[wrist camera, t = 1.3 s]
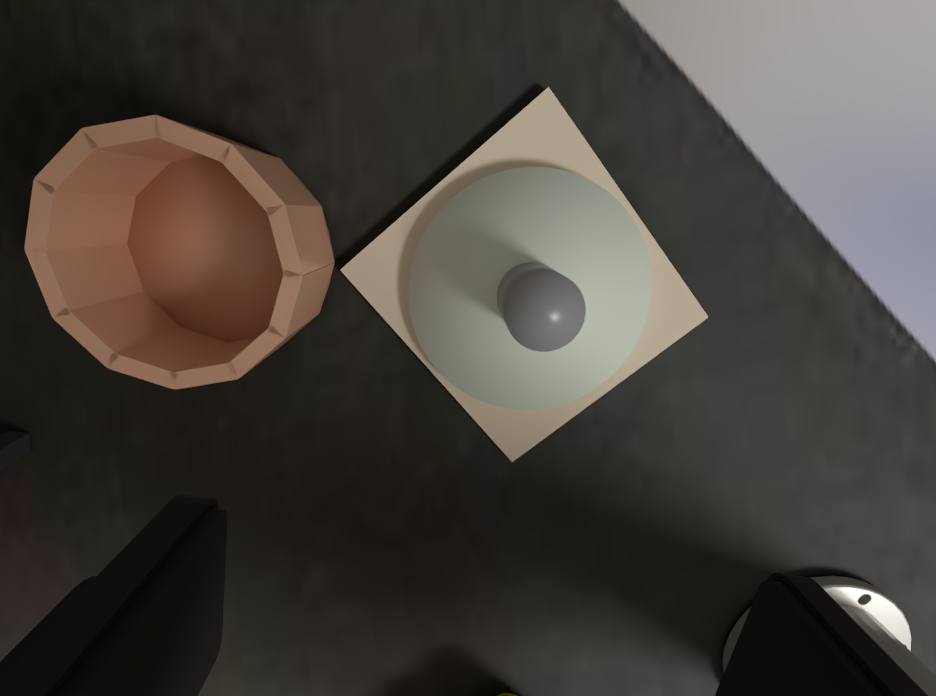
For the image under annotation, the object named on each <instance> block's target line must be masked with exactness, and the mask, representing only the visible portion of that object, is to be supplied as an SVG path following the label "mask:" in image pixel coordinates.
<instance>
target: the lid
mask: <svg viewBox="0 0 936 696" xmlns="http://www.w3.org/2000/svg"><path fill="white" fill-rule="evenodd" d="M651 294H652V273H651V265H650V259H649V255H648V251H647V248H646V244H645V242H644V240H643V237H642V235H641V232H640V230H639V228H638V227H637V225H636V223H635V222H634V220H633V218H632V217H631V215H630V214H629V213H628V212H627V210H626V209H625V208H624V207H623V205H622V204H621V203H620V202H619V201H618V200H617V199H616V198H615V197H613V196H612V195H611V194H610V193H609V192H608V191H606V190H605V189H603V188H602V187H601V186H599V185H598V184H596V183H595V182H593V181H591V180H589V179H587V178H585V177H583V176H581V175H578V174H575V173H572V172H569V171H565V170H561V169H555V168H550V167H522V168H513V169H509V170H505V171H501V172H497V173H494V174H492V175H489V176H487V177H484V178H482V179H480V180H478V181H476V182H474V183H473V184H471V185H469V186H467V187H466V188H464V189H463V190H462V191H460V192H459V193H458V194H456V195H455V196H454V197H452V198H451V199H450V200H449V201H448V202H447V203H446V204H445V205H444V206H443V207H442V208H441V209H440V210H439V212H438V213H437V214H436V216H435V217H434V218H433V219H432V221H431V222H430V223H429V225H428V227H427V229H426V230H425V232H424V234H423V235H422V237H421V239H420V242H419V244H418V247H417V249H416V251H415V254H414V258H413V262H412V265H411V269H410V277H409V284H408V302H409V309H410V317H411V320H412V324H413V328H414V331H415V334H416V336H417V339H418V341H419V343H420V346H421V347H422V349H423V351H424V353H425V354H426V356H427V358H428V359H429V361H430V362H431V363H432V364H433V366H434V367H435V368H436V369H437V371H438V372H439V373H440V374H441V375H442V376H443V377H444V378H445V379H446V380H447V381H448V382H450V383H451V384H452V385H454V386H455V387H456V388H458V389H459V390H460V391H462V392H464V393H466V394H467V395H469V396H471V397H473V398H475V399H477V400H480V401H482V402H485V403H487V404H491V405H495V406H498V407H503V408H510V409H526V410H531V409H541V408H548V407H552V406H557V405H561V404H563V403H566V402H569V401H572V400H575V399H577V398H579V397H581V396H583V395H585V394H587V393H588V392H590V391H591V390H593V389H595V388H596V387H598V386H599V385H601V384H602V383H603V382H604V381H605V380H607V379H608V378H609V377H610V376H611V375H612V374H613V373H614V372H615V371H616V370H617V369H618V368H619V367H620V366H621V365H622V364H623V363H624V361H625V360H626V358H627V357H628V356H629V354H630V353H631V352H632V350H633V348H634V346H635V345H636V343H637V341H638V339H639V338H640V335H641V333H642V330H643V328H644V325H645V323H646V319H647V316H648V312H649V308H650V301H651Z"/></svg>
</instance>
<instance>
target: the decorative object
mask: <svg viewBox="0 0 936 696" xmlns="http://www.w3.org/2000/svg"><path fill="white" fill-rule="evenodd" d="M498 696H518V695H515V694H512V693H503V694H500V695H498Z"/></svg>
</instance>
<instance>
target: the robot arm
mask: <svg viewBox="0 0 936 696" xmlns="http://www.w3.org/2000/svg"><path fill="white" fill-rule="evenodd" d="M226 538H227V512H226V511H225V510H220V509H218V504H217V501H216V500H214V499H209V498H201V497H194V496H186V495H177V496H175V497H174V498H173V499H172V500H171V501H170V502H169V503H168V504H167V505H166V506H165V507H164V508H163V509H162V510H161V511H160V512H159V513H158V514H157V515H156V516H155V517H154V518H153V519H152V520H151V521H150V522H149V523H148V524H147V525H146V526H145V527H144V529H143V530H142V531H141V532H140V533H139V534H138V535H137V536H136V537H135V538H134V539H133V540H132V541H131V542H130V543H129V544H128V545H127V546H126V547H125V548H124V549H123V550H122V551H121V552H120V553H119V554H118V555H117V556H116V557H115V558H114V559H113V560H112V561H111V562H110V563H109V564H108V565H107V567H106V568H105V569H104V570H103V571H102V572H101V573H100V574H99V575H98V576H97V577H96V576H93V577H90V578H88V579H85V580H84V581H82V582H81V583H80V584H79V585H78V586H76V587H75V588H74V589H73V590H72V591H71V592H70V593H69V594H68V595H67V596H66V597H65V598H64V599H63V600H62V601H61V602H60V603H59V604H58V605H57V606H56V607H55V608H54V609H53V610H52V611H51V612H50V613H49V614H48V615H47V616H46V617H45V618H44V619H43V620H42V621H41V622H40V623H39V624H38V625H37V626H36V627H35V628H34V629H33V630H32V631H31V632H30V633H29V634H28V635H27V636H26V637H25V638H24V639H23V640H22V641H21V642H20V643H19V644H18V645H17V646H16V647H15V648H14V649H13V650H12V651H11V652H10V653H9V654H8V655H7V656H6V657H5V658H4V659H3V660H2V661H1V662H0V696H198V694H199V692H200V690H201V688H202V686H203V684H204V682H205V680H206V679H207V677H208V675H209V673H210V671H211V669H212V667H213V665H214V663H215V661H216V658H217V655H218V652H219V649H220V645H221V639H222V621H223V601H224V580H225V559H226ZM722 661H723V672H724V674H723V677H722V679H721V682H720V684H719V687H718V689H717V692H716V696H936V675H935V674H934V673H932V672H931V671H930V670H929V669H928V668H927V667H926V666H925V665H924V664H923V663H922V662H921V661H920V660H919V659H918V658H917V657H916V656H915V655H914V654H913V653H912V652H911V633H910V628H909V624H908V622H907V620H906V618H905V616H904V614H903V612H902V611H901V610H900V609H899V607H898V606H897V605H896V604H895V603H894V602H893V601H892V600H891V599H889V598H888V597H887V596H886V595H885V594H883V593H882V592H881V591H880V590H879V589H878V588H876V587H874V586H872V585H870V584H868V583H866V582H864V581H861V580H857V579H853V578H850V577H841V576H822V577H812V578H809V577H805V576H797V575H790V574H782V573H774V574H772V575H771V576H769V577H768V579H767V581H764V582H762V583H761V584H760V586H759V588H758V591H757V593H756V596H755V598H754V601H753V603H752V605H751V607H750V608H749V609H748V610H747V611H746V612H745V613H744V614H743V615H742V616H741V617H740V619H739V620H738V621H737V623H736V624H735V626H734V628H733V629H732V631H731V632H730V634H729V637H728V639H727V642H726V645H725V647H724V654H723V660H722Z"/></svg>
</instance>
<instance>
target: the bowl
mask: <svg viewBox="0 0 936 696" xmlns="http://www.w3.org/2000/svg"><path fill="white" fill-rule="evenodd" d="M24 249H26V250H25V252H26V255H27V257H28V260H29V262H30V265H31V267H32V270H33V272H34V274H35V277H36V279H37V282H38V284H39V287H40V289H41V291H42V294H43V296H44V299H45V301H46V304H47V306H48V309H49V311H50V313H51V316H52V318H53V319H54V320H55V321H56V322H57V323H58V324H59V325H60V326H62V327H63V328H64V329H65V330H66V331H67V332H68V333H69V334H70V335H71V336H73V337H74V338H75V339H76V340H77V341H78V342H79V343H80V344H81V345H82V346H84V347H85V348H86V349H87V350H88V351H89V352H90V353H91V354H92V355H93V356H95V357H96V358H97V359H98V360H99V361H100V362H101V363H102V364H103V365H104V366H106V367H107V368H108V369H111V370H114V371H117V372H121V373H124V374H127V375H130V376H133V377H136V378H139V379H142V380H146V381H149V382H152V383H155V384H158V385H161V386H164V387H168V388H171V389H175V390H176V389H182V388H188V387H194V386H200V385H206V384H212V383H218V382H224V381H230V380H236V379H239V378H241V377H242V376H243V375H244V374H246V373H247V372H248V371H250V370H251V369H252V368H254V367H255V366H256V365H257V364H259V363H260V362H261V361H263V360H264V359H265V358H267V357H268V356H269V355H270V354H272V353H273V352H274V351H276V350H277V349H278V348H280V347H281V346H282V345H283V344H285V343H286V342H287V341H288V340H289V339H290V338H291V337H293V336H294V335H295V334H296V333H297V332H298V331H300V330H301V329H302V328H303V327H304V326H305V325H306V324H308V323H309V322H310V321H311V320H312V319H313V318H315V317H316V316H317V315H318V314H319V313H320V311H321V307H322V304H323V301H324V299H325V296H326V294H327V291H328V289H329V285H330V281H331V276H332V271H333V267H334V264H335V263H334V262H335V260H334V256H333V247H332V242H331V236H330V232H329V229H328V225H327V222H326V219H325V217H324V214H323V210H322V206H321V205H320V204H319V202H318V201H317V200H316V199H315V198H314V196H313V195H312V193H311V192H310V191H309V189H308V188H307V187H306V186H305V184H304V183H303V182H302V181H301V180H300V179H299V178H298V177H297V176H296V175H295V174H294V173H293V172H292V171H291V170H290V169H289V168H288V167H287V166H286V165H285V163H284V162H283V161H282V160H281V159H279V158H277V157H274V156H272V155H269V154H266V153H264V152H261V151H259V150H256V149H254V148H251V147H248V146H246V145H243V144H240V143H238V142H235V141H233V140H230V139H227V138H225V137H222V136H219V135H216V134H213V133H210V132H207V131H204V130H201V129H198V128H195V127H192V126H189V125H186V124H182V123H179V122H176V121H173V120H170V119H167V118H164V117H161V116H158V115H151V116H145V117H140V118H134V119H128V120H123V121H117V122H112V123H106V124H101V125H95V126H89V127H84V128H83V129H82V128H81V129H80V130H79V131H78V132H77V133H76V135H75V136H74V137H73V138H72V139H71V140H70V141H69V142H68V143H67V144H66V145H65V146H64V147H63V148H62V149H61V150H60V151H59V152H58V154H57V155H56V156H55V157H54V158H53V159H52V160H51V161H50V162H49V163H48V164H47V165H46V166H45V167H44V168H43V169H42V170H41V171H40V173H39V174H38V175H37V176H36V177H35V178H34V180H33V187H32V195H31V202H30V210H29V217H28V225H27V232H26V240H25V247H24Z"/></svg>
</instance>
